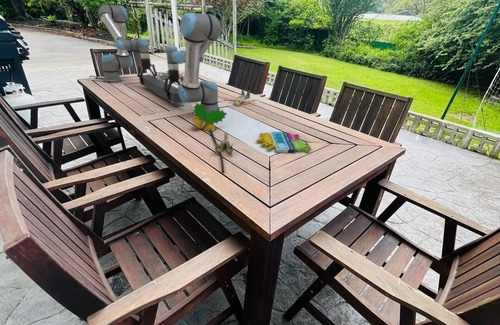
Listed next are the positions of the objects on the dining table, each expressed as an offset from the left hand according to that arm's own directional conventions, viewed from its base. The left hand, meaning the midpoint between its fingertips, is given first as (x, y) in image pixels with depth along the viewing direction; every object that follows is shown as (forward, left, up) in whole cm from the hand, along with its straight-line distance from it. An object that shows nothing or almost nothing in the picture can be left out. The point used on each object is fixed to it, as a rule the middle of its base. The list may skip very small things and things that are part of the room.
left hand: (148, 84), depth 236 cm
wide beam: (+25, -11, -1) cm, 28 cm away
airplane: (-18, +45, -4) cm, 49 cm away
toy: (+87, +17, -4) cm, 88 cm away
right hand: (+50, -22, 0) cm, 55 cm away
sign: (+145, -42, -4) cm, 151 cm away
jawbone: (+123, -70, -4) cm, 141 cm away
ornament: (+99, -48, -4) cm, 110 cm away
